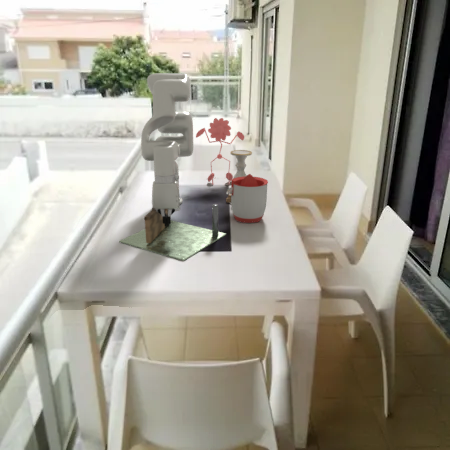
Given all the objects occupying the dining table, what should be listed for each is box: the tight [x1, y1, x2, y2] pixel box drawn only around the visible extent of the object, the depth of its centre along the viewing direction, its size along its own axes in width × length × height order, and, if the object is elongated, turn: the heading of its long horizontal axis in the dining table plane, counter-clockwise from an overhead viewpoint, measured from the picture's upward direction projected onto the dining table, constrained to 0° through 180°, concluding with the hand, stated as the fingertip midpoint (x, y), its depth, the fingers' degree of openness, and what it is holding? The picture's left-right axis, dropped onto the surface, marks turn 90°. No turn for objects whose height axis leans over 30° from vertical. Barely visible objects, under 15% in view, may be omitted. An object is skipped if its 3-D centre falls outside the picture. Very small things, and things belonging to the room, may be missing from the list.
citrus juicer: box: [226, 173, 269, 224], centre depth 185 cm, size 16×17×20 cm
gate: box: [143, 209, 168, 243], centre depth 168 cm, size 20×2×10 cm, turn 168°
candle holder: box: [225, 149, 253, 204], centre depth 208 cm, size 11×11×24 cm
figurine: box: [195, 117, 245, 186], centre depth 239 cm, size 15×26×35 cm, turn 98°
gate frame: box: [119, 203, 227, 262], centre depth 165 cm, size 30×28×14 cm
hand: (166, 225), depth 167 cm, fingers closed
